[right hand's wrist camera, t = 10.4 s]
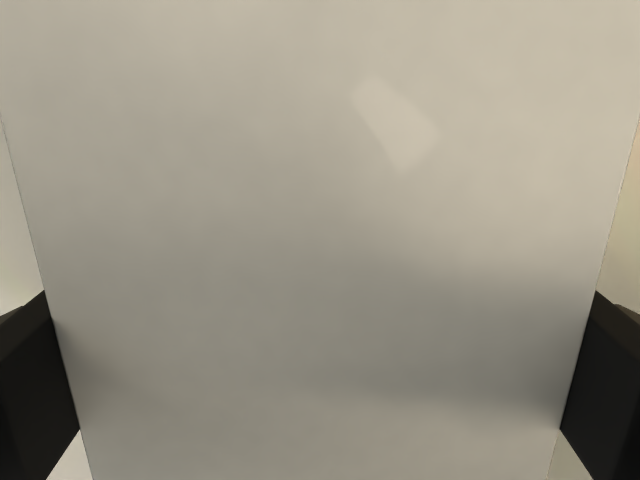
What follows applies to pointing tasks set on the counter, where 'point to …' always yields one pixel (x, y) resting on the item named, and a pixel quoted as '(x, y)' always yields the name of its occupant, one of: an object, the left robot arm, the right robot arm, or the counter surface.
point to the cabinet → (319, 225)
